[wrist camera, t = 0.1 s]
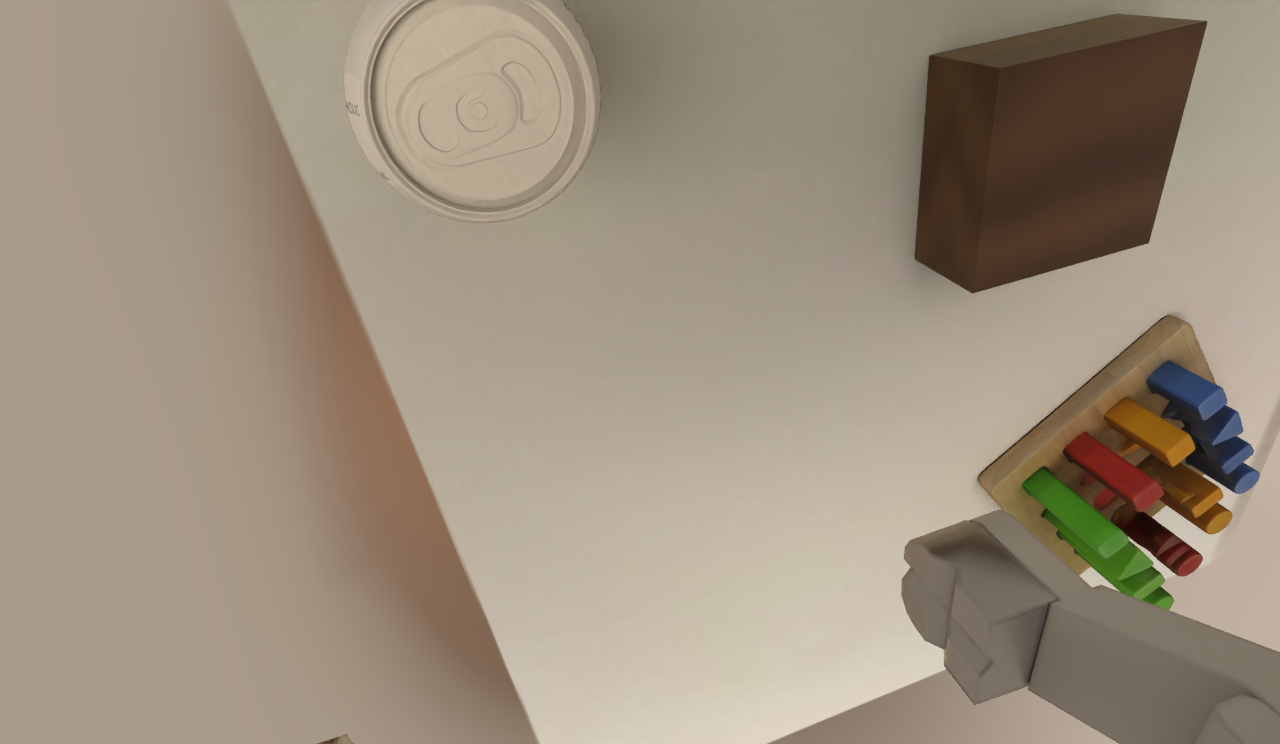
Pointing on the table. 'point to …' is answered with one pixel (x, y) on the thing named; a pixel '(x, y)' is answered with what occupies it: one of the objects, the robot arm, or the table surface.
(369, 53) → the orange beverage can
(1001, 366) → the table surface
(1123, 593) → the robot arm
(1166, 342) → the peg board
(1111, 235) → the walnut block
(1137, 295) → the table surface
